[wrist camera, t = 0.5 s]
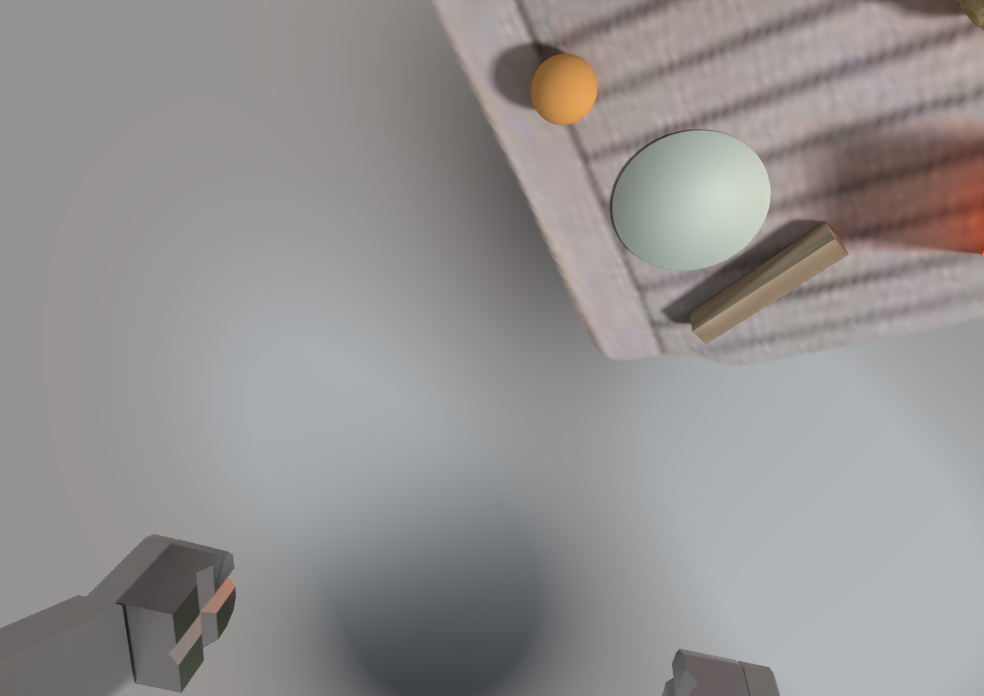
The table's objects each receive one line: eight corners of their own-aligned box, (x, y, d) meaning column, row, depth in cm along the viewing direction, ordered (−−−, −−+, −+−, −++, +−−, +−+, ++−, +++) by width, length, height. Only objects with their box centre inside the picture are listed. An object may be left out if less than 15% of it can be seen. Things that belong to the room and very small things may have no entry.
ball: (562, 31, 48) (557, 48, 44) (611, 74, 49) (611, 95, 45) (521, 85, 51) (513, 106, 47) (569, 124, 52) (565, 148, 48)
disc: (692, 95, 49) (693, 96, 49) (804, 196, 53) (805, 197, 53) (581, 212, 57) (581, 213, 57) (685, 293, 60) (685, 294, 60)
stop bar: (689, 312, 62) (692, 331, 59) (825, 221, 54) (834, 238, 52) (702, 324, 62) (706, 343, 60) (838, 236, 54) (848, 254, 52)
